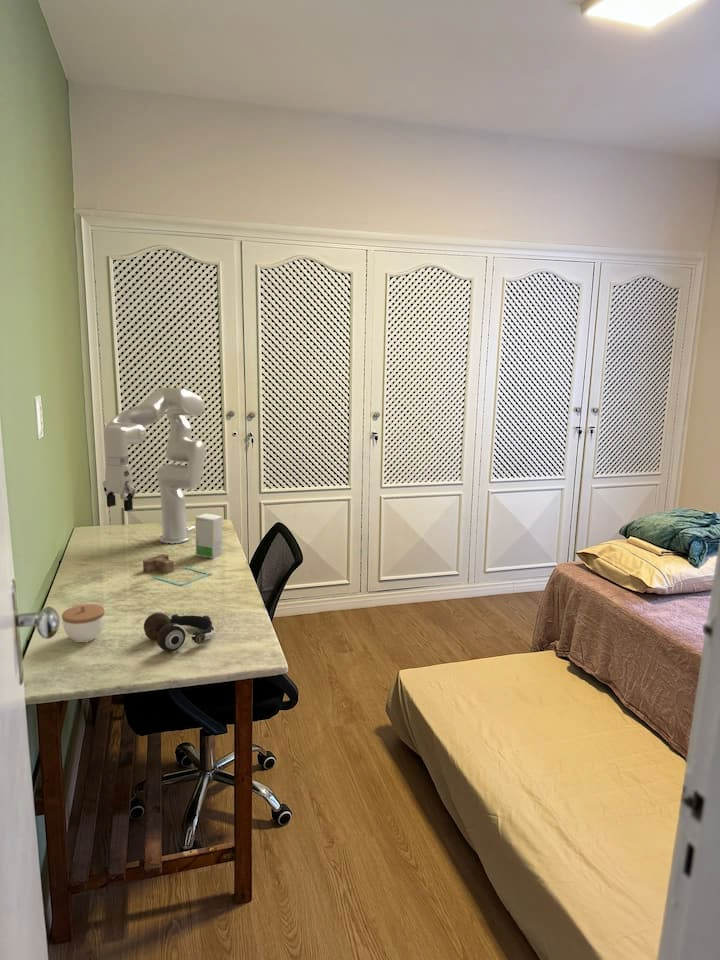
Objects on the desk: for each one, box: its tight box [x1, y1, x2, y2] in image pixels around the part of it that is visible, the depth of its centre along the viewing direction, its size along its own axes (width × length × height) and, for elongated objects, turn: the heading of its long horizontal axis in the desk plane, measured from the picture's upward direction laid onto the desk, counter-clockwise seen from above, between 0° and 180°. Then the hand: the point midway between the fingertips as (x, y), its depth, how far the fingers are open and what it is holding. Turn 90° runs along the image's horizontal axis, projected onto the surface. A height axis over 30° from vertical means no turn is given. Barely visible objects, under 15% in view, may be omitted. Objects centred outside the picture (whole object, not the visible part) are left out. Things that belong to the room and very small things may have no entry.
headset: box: [143, 611, 216, 653], centre depth 180 cm, size 17×8×20 cm
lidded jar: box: [61, 603, 105, 643], centre depth 178 cm, size 11×11×9 cm
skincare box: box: [195, 513, 223, 559], centre depth 248 cm, size 8×7×16 cm
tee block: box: [142, 553, 175, 575], centre depth 232 cm, size 9×9×4 cm
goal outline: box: [153, 565, 211, 587], centre depth 227 cm, size 14×14×1 cm
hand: (119, 508), depth 231 cm, fingers open, 9 cm apart
